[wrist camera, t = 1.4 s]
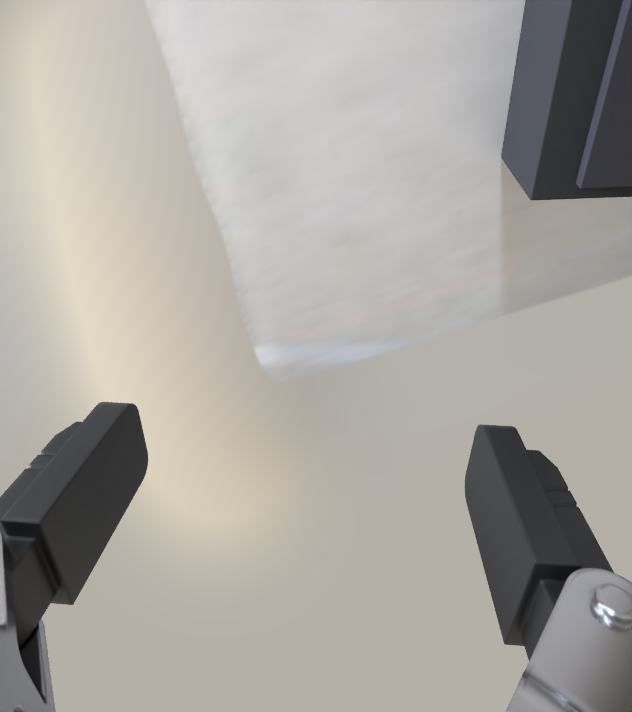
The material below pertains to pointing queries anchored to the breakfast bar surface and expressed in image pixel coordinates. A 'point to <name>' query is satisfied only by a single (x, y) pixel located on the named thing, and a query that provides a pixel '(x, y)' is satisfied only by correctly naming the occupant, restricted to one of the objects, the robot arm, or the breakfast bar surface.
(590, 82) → the dark grey stepped block
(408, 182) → the breakfast bar surface
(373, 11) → the breakfast bar surface
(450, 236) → the breakfast bar surface
